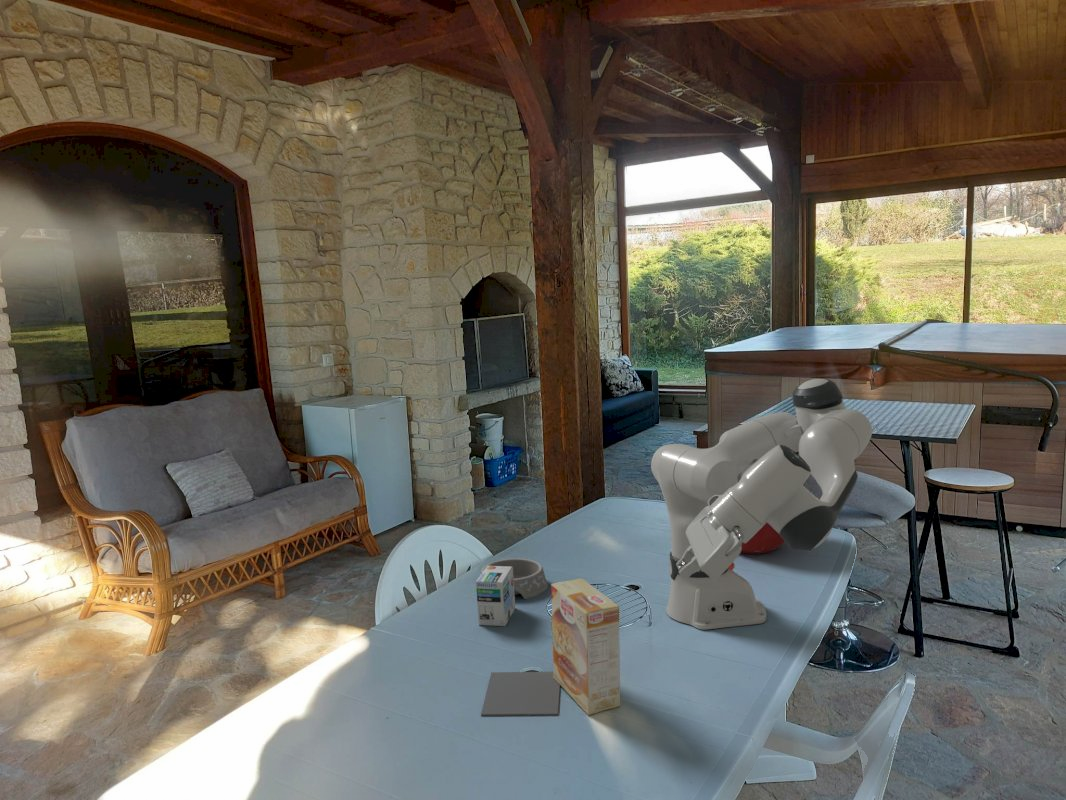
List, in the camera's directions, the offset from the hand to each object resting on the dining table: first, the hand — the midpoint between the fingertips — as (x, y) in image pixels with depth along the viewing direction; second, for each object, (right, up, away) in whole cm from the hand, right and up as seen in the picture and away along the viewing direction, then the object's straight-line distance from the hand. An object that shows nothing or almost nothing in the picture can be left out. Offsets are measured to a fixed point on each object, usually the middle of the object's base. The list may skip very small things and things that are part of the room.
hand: (680, 572), depth 135 cm
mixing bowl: (+36, -11, +78) cm, 87 cm away
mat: (-29, -24, +6) cm, 38 cm away
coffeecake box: (-17, -24, +5) cm, 30 cm away
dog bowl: (-32, -18, +58) cm, 69 cm away
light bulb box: (-36, -20, +40) cm, 57 cm away
